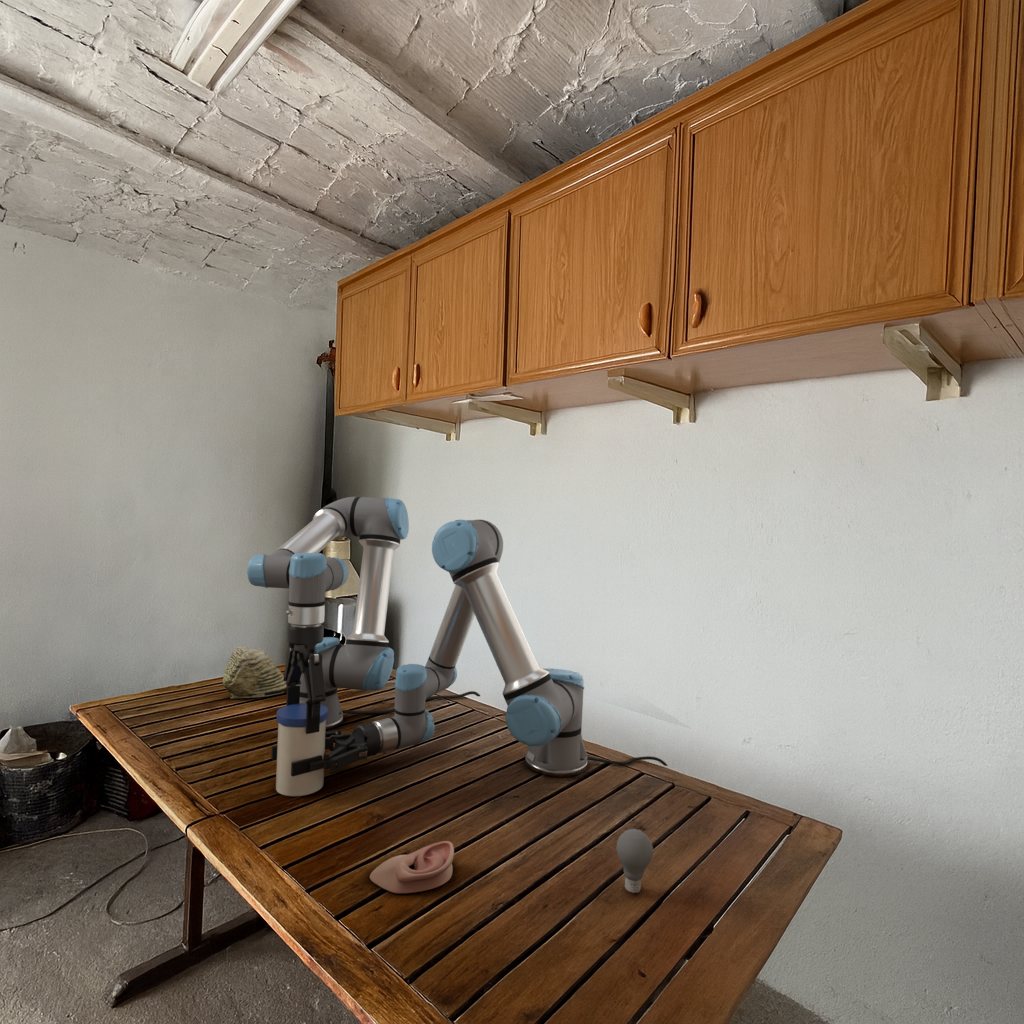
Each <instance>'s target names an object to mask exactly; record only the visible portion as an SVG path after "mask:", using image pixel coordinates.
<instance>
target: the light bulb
mask: <svg viewBox="0 0 1024 1024" xmlns="http://www.w3.org/2000/svg"><path fill="white" fill-rule="evenodd" d="M615 849H616V854H617V857H618V859H619V861H620V863H621V865H622V867H623V873H624V874H623V875H624V876H625V878H624V888H625V890H627V891H628V892H630V893H634V894H635V893H639V892H640V891H641V889H642V887H641V886H642V879H643V877H644V875H645V871H646V868H647V867H648V866H649V864H650V863H651V861H652V859H653V855H654V847H653V843H652V841H651V838H649V836H648V835H647V834H646V833H645V832H643V831H642V830H641V829H636V828H629V829H627V830H625V831H623V832H622V833H621V834H620V835H619V837H618V839H617V841H616V847H615Z"/></svg>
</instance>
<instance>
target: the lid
mask: <svg viewBox="0 0 1024 1024" xmlns="http://www.w3.org/2000/svg"><path fill="white" fill-rule="evenodd" d="M306 706H307V704H306V703H299V704H292V705H288V706H286V705H285V706H282V707H281V708H279V709H278V710H277V711H276V722H277V724H278V723H280V724H282V725H286V726H293V727H302V726H306ZM327 718H328V708H327V707H326V706H324V705H321V704H320V723H321V722H323V721H325V720H326V719H327Z"/></svg>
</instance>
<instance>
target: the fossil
mask: <svg viewBox="0 0 1024 1024" xmlns="http://www.w3.org/2000/svg"><path fill="white" fill-rule="evenodd" d="M222 676H223V677H222V685H223V687H224V688H225V690H226V691H228V693H229V698H230V699H250V698H264V697H271V696H275V695H281V694H284V693H285V691H287V687H288V686H286V681H284V680H283V678H284V674H283V673H282V672H281V669H279V668H278V667H277V665H276V663H275V662H274V660H273V659H272V658H271V657H270V656H269V655H268V654H267V653H266V652H265V650H264V649H263V648H260V647H258V648H251V647H247V646H246V647H245V646H238V647H237V648H236V649H235V650H233V651H232V653H231V656H230V657H229V659H228V660H227V663H226V666H225V668H224V671H223V675H222Z"/></svg>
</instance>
